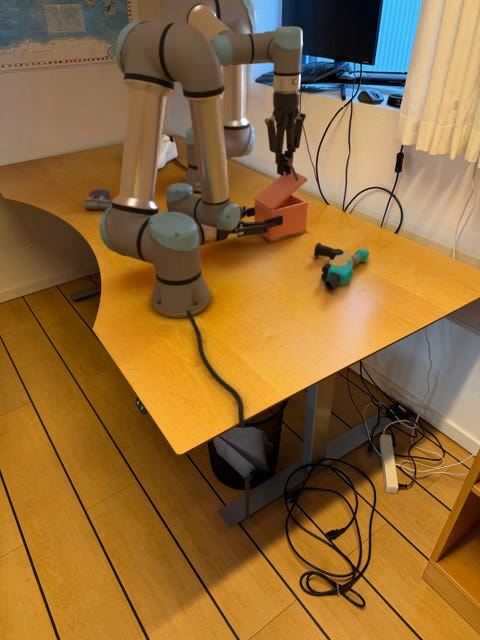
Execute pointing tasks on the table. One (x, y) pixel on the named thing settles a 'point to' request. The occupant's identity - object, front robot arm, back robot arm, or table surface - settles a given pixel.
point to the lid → (281, 188)
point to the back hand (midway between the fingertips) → (283, 173)
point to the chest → (284, 218)
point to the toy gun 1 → (98, 200)
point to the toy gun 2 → (339, 264)
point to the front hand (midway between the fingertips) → (272, 214)
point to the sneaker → (167, 150)
